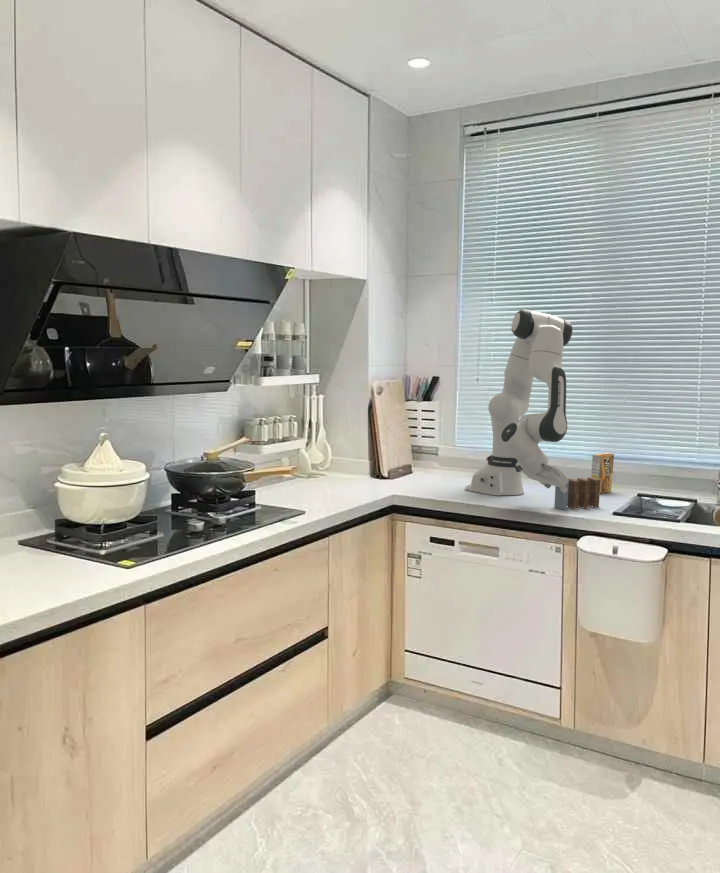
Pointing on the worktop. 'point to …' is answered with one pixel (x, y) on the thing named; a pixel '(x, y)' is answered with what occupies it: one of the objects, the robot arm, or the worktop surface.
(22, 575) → the worktop surface
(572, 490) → the tile
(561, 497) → the loose tile
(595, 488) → the brown wooden block
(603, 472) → the candy box
